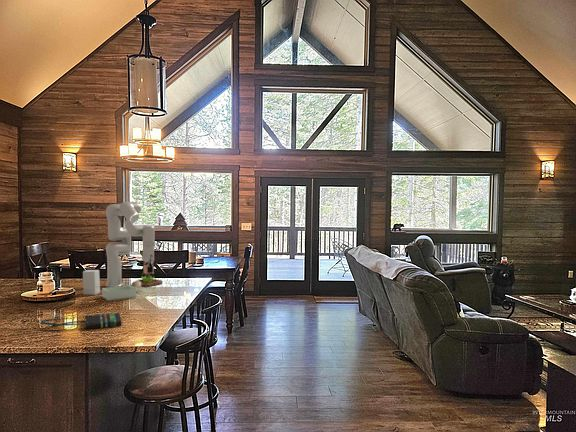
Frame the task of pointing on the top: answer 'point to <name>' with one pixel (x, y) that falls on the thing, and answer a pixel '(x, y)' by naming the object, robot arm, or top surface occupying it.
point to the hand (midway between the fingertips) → (148, 271)
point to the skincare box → (91, 282)
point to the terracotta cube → (147, 269)
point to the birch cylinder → (137, 286)
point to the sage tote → (118, 292)
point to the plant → (149, 281)
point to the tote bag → (91, 321)
